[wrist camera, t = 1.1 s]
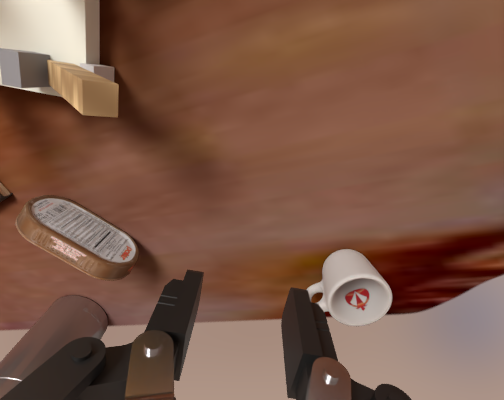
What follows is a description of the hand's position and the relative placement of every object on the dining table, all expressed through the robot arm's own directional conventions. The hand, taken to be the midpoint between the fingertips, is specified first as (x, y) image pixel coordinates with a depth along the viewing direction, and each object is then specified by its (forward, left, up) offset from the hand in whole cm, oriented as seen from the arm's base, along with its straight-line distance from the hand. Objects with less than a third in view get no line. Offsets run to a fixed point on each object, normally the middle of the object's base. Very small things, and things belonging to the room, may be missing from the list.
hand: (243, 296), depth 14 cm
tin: (-24, +2, -28) cm, 37 cm away
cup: (+2, -21, -27) cm, 35 cm away
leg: (-13, +18, -23) cm, 32 cm away
